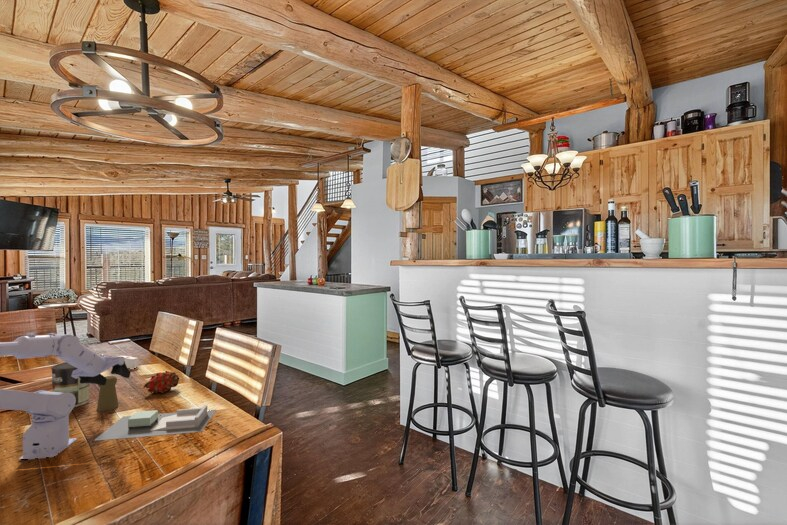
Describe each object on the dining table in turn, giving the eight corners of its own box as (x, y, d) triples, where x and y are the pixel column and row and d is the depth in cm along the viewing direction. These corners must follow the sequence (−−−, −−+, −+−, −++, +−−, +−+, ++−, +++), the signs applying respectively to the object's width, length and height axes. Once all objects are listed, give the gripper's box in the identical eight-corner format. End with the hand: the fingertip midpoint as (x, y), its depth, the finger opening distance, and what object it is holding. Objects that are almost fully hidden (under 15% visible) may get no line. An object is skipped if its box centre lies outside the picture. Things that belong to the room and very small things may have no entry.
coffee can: (59, 412, 123) (59, 370, 123) (46, 406, 128) (45, 366, 128) (95, 401, 132) (95, 362, 132) (82, 396, 137) (81, 359, 137)
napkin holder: (111, 367, 174) (110, 355, 174) (139, 362, 181) (139, 351, 181) (112, 375, 163) (112, 362, 162) (142, 370, 170) (142, 358, 170)
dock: (201, 434, 109) (201, 421, 109) (93, 443, 104) (93, 430, 104) (216, 412, 125) (216, 400, 125) (123, 419, 119) (123, 407, 119)
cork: (106, 412, 123) (106, 380, 123) (92, 411, 124) (91, 379, 124) (123, 405, 129) (122, 374, 129) (109, 404, 130) (108, 373, 130)
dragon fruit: (182, 392, 145) (146, 404, 138) (177, 376, 150) (142, 386, 143) (181, 379, 140) (144, 391, 133) (176, 363, 145) (140, 373, 138)
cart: (151, 428, 111) (151, 417, 111) (127, 430, 110) (126, 419, 110) (159, 420, 117) (159, 410, 117) (136, 422, 115) (136, 411, 115)
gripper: (113, 340, 112) (141, 361, 122) (64, 355, 111) (97, 374, 121) (106, 361, 107) (137, 380, 117) (56, 376, 106) (91, 394, 116)
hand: (117, 378), depth 119 cm, fingers open, 7 cm apart
